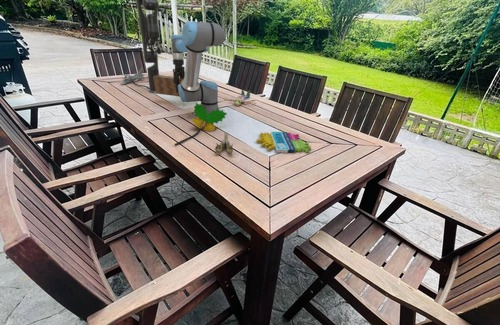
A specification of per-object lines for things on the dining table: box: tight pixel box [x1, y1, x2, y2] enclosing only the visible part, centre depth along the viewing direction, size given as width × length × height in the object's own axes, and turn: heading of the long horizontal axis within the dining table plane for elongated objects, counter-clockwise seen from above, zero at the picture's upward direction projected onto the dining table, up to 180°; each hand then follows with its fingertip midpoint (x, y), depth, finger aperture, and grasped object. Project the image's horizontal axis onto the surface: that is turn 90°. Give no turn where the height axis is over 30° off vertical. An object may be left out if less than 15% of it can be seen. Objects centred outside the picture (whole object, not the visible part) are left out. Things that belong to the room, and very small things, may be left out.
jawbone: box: [214, 131, 234, 156], centre depth 136 cm, size 9×15×10 cm
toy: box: [223, 89, 257, 106], centre depth 219 cm, size 28×7×30 cm
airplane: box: [119, 66, 148, 86], centre depth 257 cm, size 38×31×10 cm
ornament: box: [191, 101, 228, 132], centre depth 162 cm, size 21×8×15 cm, turn 105°
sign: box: [256, 131, 312, 154], centre depth 152 cm, size 26×2×30 cm
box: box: [154, 74, 184, 98], centre depth 197 cm, size 24×6×13 cm, turn 75°
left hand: (156, 54), depth 198 cm, fingers open, 8 cm apart
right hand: (180, 91), depth 197 cm, fingers closed on box, 6 cm apart
